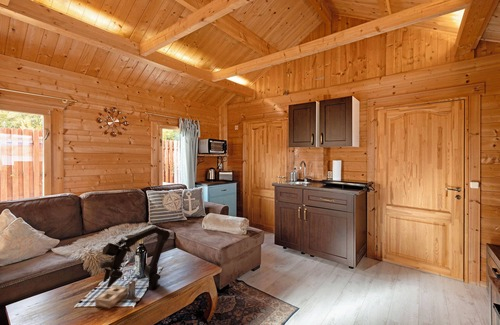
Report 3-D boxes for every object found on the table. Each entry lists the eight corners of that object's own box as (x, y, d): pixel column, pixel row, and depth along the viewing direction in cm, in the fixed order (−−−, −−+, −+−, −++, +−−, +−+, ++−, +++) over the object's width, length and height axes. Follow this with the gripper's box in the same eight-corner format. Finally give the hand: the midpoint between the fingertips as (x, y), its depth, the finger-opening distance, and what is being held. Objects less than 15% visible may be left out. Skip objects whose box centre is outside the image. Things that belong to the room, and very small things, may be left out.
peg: (131, 295, 156) (131, 280, 156) (136, 296, 155) (136, 280, 155) (126, 299, 152) (126, 283, 152) (132, 299, 151) (132, 284, 151)
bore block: (114, 292, 159) (114, 285, 159) (127, 294, 157) (127, 287, 157) (95, 306, 144) (95, 299, 144) (109, 308, 142) (109, 301, 142)
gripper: (102, 250, 150) (88, 276, 145) (109, 258, 136) (94, 287, 131) (119, 254, 157) (107, 280, 151) (128, 262, 143) (115, 290, 138)
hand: (105, 284), depth 143 cm, fingers open, 9 cm apart
